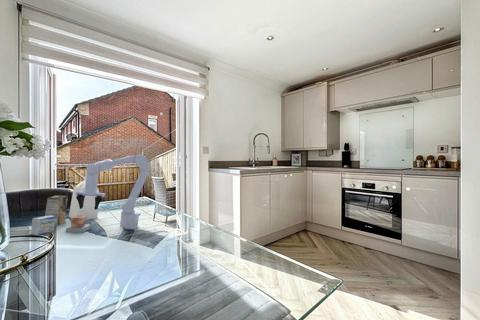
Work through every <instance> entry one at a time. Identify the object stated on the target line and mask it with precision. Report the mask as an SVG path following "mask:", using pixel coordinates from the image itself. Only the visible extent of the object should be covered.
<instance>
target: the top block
mask: <svg viewBox="0 0 480 320" xmlns="http://www.w3.org/2000/svg"><path fill="white" fill-rule="evenodd" d="M91 228H92V224H87V223H86V224H85V226H83V227H82V228H73V227H70V225H69V226H67V227H65V233H66V232H67V233H81V234H83V233H85V232H86V231H88V230H89V229H91Z"/></svg>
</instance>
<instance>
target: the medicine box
mask: <svg viewBox="0 0 480 320" xmlns="http://www.w3.org/2000/svg"><path fill="white" fill-rule="evenodd" d="M55 227H56V226H55V216H52V215H48V216H45V215H44V216H38V217H33V218H32V219H31V227H30V228H31V229H30V235H35V236H39V235H43V234H47V233H51V232H54V231H55Z"/></svg>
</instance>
